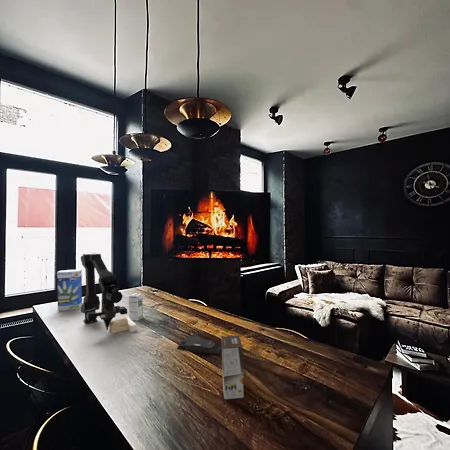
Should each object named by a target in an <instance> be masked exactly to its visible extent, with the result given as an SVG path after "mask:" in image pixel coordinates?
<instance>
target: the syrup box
mask: <svg viewBox="0 0 450 450" xmlns="http://www.w3.org/2000/svg"><path fill="white" fill-rule="evenodd" d="M143 307H144V304H143V293H141V292H135V293H134V292H133V293H132V294H130V295H128V313H129V316H128V318H130V319H131V320H132V321H139V320H141V319H142V318H144V308H143Z"/></svg>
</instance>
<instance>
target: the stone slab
mask: <svg viewBox="0 0 450 450" xmlns="http://www.w3.org/2000/svg"><path fill="white" fill-rule="evenodd" d="M176 349H177V350H181V351H186V352H192V353H197V354H199V353H200V354H222V346H219V345H218V344H217V343H216V342H214V341H213V340H212V339H211V340H210V339H205V338H202V335H201V334H200V332H195V333H193V334H191V335H190V336H189V337H186V338H184V339H182V340H181V341H180V344H178V346H177V348H176Z"/></svg>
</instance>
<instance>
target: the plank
mask: <svg viewBox="0 0 450 450" xmlns="http://www.w3.org/2000/svg"><path fill="white" fill-rule="evenodd" d="M125 318H126V319H127V320H128V330H127V331H129V332H131V333H132V332H135V331H137V324H136V323H135V322H134V320H131V319H130V318H129V316H127V317H125Z"/></svg>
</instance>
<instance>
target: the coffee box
mask: <svg viewBox="0 0 450 450" xmlns="http://www.w3.org/2000/svg"><path fill="white" fill-rule="evenodd" d="M240 338H241V337H240V335H227V336H221V338H220V339H221V348H222V353H221V367H222V370H221V371H222V375H221V376H222V389H223V399H224V400H232V399H233V400H234V399H243V398H244V393H245V392H244V362H243V361H244V360H243V358H244V357H243V355H244V354H243V345H242V341H241V339H240Z"/></svg>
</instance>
